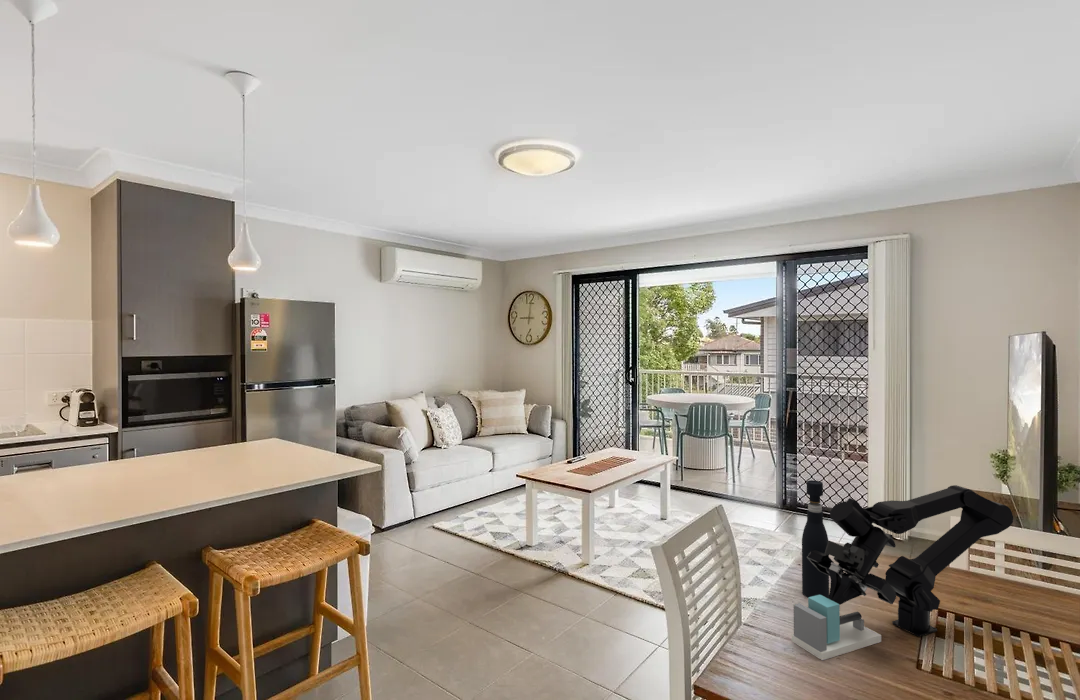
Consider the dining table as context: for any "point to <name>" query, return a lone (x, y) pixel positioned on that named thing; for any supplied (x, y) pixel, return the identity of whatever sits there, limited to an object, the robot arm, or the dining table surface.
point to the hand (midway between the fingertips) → (830, 606)
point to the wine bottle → (814, 544)
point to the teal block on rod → (827, 615)
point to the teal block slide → (814, 633)
